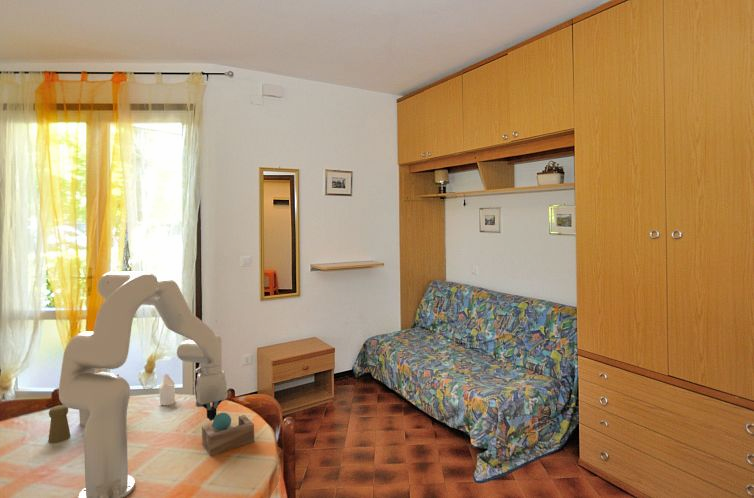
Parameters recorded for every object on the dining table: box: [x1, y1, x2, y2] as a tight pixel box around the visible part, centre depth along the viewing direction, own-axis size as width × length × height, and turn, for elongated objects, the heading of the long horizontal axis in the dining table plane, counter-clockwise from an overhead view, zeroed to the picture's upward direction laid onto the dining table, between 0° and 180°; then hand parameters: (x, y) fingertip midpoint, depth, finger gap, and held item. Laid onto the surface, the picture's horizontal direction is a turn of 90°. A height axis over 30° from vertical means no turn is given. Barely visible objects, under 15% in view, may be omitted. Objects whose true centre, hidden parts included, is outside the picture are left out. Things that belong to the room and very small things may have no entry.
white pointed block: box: [158, 373, 176, 407], centre depth 168 cm, size 6×12×6 cm
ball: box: [212, 412, 232, 432], centre depth 145 cm, size 6×6×6 cm
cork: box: [47, 404, 71, 444], centre depth 139 cm, size 6×6×11 cm
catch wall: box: [201, 414, 255, 457], centre depth 136 cm, size 9×14×6 cm, turn 128°
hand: (211, 418), depth 150 cm, fingers closed
